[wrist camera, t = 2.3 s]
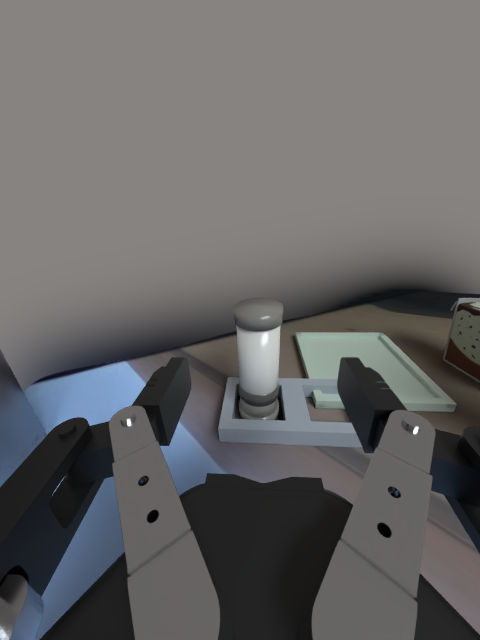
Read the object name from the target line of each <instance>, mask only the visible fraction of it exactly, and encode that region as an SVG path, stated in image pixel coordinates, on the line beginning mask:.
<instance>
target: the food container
mask: <svg viewBox="0 0 480 640" xmlns="http://www.w3.org/2000/svg"><path fill="white" fill-rule="evenodd" d="M451 310H455V312H454V316H453V320H452V324H451V328H450V332H449V336H448V340H447V344H446V348H445V352H444V356H443V360H444V361H445V362H447V363H448V364H450V365H452V366H453V367H455V368H456V369H458V370H460V371H461V372H463V373H464V374H466V375H467V376H469V377H471V378H472V379H474V380H475V381H477V382H479V383H480V298H459V299H458V301H457V302H455V303H454V305H453V307H452V308H451Z"/></svg>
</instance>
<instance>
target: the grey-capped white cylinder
mask: <svg viewBox="0 0 480 640" xmlns="http://www.w3.org/2000/svg"><path fill="white" fill-rule="evenodd" d="M234 321H235V324H236V325H237V342H238V363H239V393H240V400H239V416H240V419H249V420H278V416H279V402H278V400H277V399H278V385H279V382H278V373H279V346H280V325H281V324H282V321H283V305H282V304H281V303H280V302H278V301H275V300H271V299H264V298H255V299H247V300H243V301H240V302H238V303H236V304H235V305H234Z"/></svg>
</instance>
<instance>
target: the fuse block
mask: <svg viewBox="0 0 480 640" xmlns="http://www.w3.org/2000/svg"><path fill="white" fill-rule="evenodd" d="M337 380H338V379H300V378H278V382H279V385H278V397H281V403H282V412H283V420H284V421H281V420H249V419H235V410H236V402H237V396H240V393H239V377H228V380H227V385H226V391H225V396H224V401H223V406H222V412H221V417H220V422H219V427H218V430H219V440H220V442H237V443H262V444H287V445H311V446H336V447H361V448H363V447H362V445H361V443H360V441H359V438H358V436H357V434H356V432H355V430H354V427H353V425H352V423H343V422H312V421H310V417H309V412H308V408H307V404H306V400H305V397H312V395H313V390H321V392H322V394H338V390H337Z"/></svg>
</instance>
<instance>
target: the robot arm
mask: <svg viewBox="0 0 480 640" xmlns="http://www.w3.org/2000/svg"><path fill="white" fill-rule="evenodd" d="M190 390H191V378H190V372H189V366H188V360H187V358H186V357H172V358H171V359H170V361H169V362H168V364H167V366H166V367H161V368H159V369H158V370H157V371H155V372H154V373H153V375H152V376H151V378H150V380H149V381H148V382H147V384H146V386H145V387H144V388H143V390H142V391H141V393H140V394H139V396H138V397H137V399H136V400H135V402H134V403H133V405H132V406H129V407H126V408H124V409H122V410H120V411H118V412H117V413H116V414H115V415H114V416H113V417H112V418H111V420H110V421H109V422H105V423H101V424H96V425H92V426H89V424H88V421H87V420H86V419H85V418H73V419H69V420H67V421H65V422H63V423H61V424H59V425H58V426H56V427H55V428H54V429H53V430H52V431H51V432H50V433H49V434H48V435H47V436H46V435H45V433H44V431H43V429H42V427H41V425H40V423H39V421H38V419H37V417H36V415H35V414H34V412H33V410H32V407H31V405H30V404H29V402H28V400H27V398H26V396H25V394H24V392H23V391H22V389H21V387H20V385H19V383H18V381H17V379H16V378H15V376H14V374H13V372H12V370H11V368H10V366H9V365H8V363H7V361H6V359H5V357H4V355H3V353H2V352H1V350H0V640H36V633H37V630H38V628H39V625H40V623H41V620H42V616H43V608H44V605H43V600H42V598H41V596H42V595H43V593H44V591H45V589H46V587H47V585H48V583H49V581H50V580H51V578H52V576H53V574H54V572H55V570H56V568H57V566H58V565H59V563H60V561H61V559H62V557H63V555H64V553H65V551H66V550H67V548H68V546H69V544H70V542H71V540H72V538H73V536H74V535H75V533H76V531H77V529H78V527H79V525H80V523H81V521H82V520H83V518H84V516H85V514H86V512H87V510H88V508H89V506H90V505H91V503H92V501H93V499H94V497H95V495H96V493H97V491H98V490H99V488H100V486H101V484H102V482H103V480H104V479H105V478H108V477H112V476H114V480H115V487H116V494H117V501H118V507H119V514H120V521H121V528H122V534H123V541H124V548H125V552H124V553H123V554H122V555H121V556H120V557H119V558H118V559H117V560H116V561H115V562H114V563H113V564H112V565H111V566H110V567H109V568H108V569H107V570H106V571H105V572H104V573H103V575H102V576H101V577H100V578H99V579H98V580H97V581H96V582H95V583H94V584H93V585H92V586H91V587H90V588H89V589H88V590H87V591H86V592H85V593H84V594H83V595H82V596H81V597H80V598H79V599H78V600H77V601H76V602H75V603H74V604H73V606H72V607H71V608H70V609H69V610H68V611H67V612H66V613H65V614H64V615H63V616H62V617H61V618H60V619H59V620H58V621H57V622H56V623H55V624H54V625H53V626H52V627H51V628H50V629H49V630H48V631H47V632H46V633H45V635H44V636H43V637H42V638H41V639H40V640H480V635H479V634H478V633H477V632H476V631H475V630H474V629H473V628H472V626H471V625H470V624H469V623H468V622H467V621H466V620H465V619H464V618H463V617H462V616H461V615H460V614H459V613H458V612H457V611H456V610H455V609H454V608H453V607H452V606H451V605H450V604H449V603H448V602H447V601H446V600H445V599H444V598H443V597H442V595H441V594H440V593H439V592H438V591H437V590H436V589H435V588H434V587H433V586H432V585H431V584H430V583H429V582H428V581H427V580H426V579H425V578H424V577H423V576H422V575H421V574H420V567H421V559H422V552H423V545H424V537H425V530H426V522H427V515H428V508H429V500H430V493H431V491H434V492H437V493H440V494H443V495H444V496H445V497H446V499H447V501H448V502H449V504H450V506H451V507H452V509H453V510H454V512H455V514H456V515H457V517H458V519H459V520H460V522H461V524H462V525H463V527H464V529H465V530H466V532H467V534H468V535H469V537H470V538H471V540H472V542H473V543H474V545H475V547H476V548H477V550H478V552H479V553H480V427H468V428H466V429H465V430H464V431H463V434H462V436H460V435H456V434H452V433H448V432H444V431H440V430H437V429H434V427H433V426H432V424H431V423H430V422H429V421H427V420H426V419H425V418H423V417H422V416H420V415H418V414H416V413H413V412H411V411H408V410H407V409H406V408H405V406H404V405H403V404H402V402H401V401H400V400H399V398H398V397H397V396H396V395H395V393H394V392H393V391H392V389H390V387H389V385H388V384H387V383H385V380H384V379H383V378H382V376H381V375H380V374H379V373H378V372H376V371H375V370H373V369H372V368H370V367H365V366H364V365H363V363H362V362H361V360H360V359H359V358H358V357H342V358H341V360H340V366H339V373H338V380H337V390H338V394H339V396H340V398H341V401H342V403H343V405H344V407H345V410H346V412H347V414H348V416H349V418H350V421H351V423H352V425H353V427H354V430H355V432H356V434H357V436H358V438H359V441H360V443H361V445H362V447H363V450H364V452H365V453H374V454H373V456H372V459H371V461H370V464H369V466H368V469H367V472H366V474H365V477H364V479H363V482H362V485H361V487H360V490H359V492H358V495H357V497H356V500H355V503H354V505H352V504H351V503H350V502H348V501H347V500H346V499H344V498H343V497H341V496H339V495H338V494H336V493H334V492H331V491H329V490H326V489H324V488H323V484H322V479H321V478H306V477H290V478H286V479H281V480H277V481H273V482H268V483H259V482H256V481H253V480H250V479H247V478H244V477H240V476H237V475H234V474H210V473H207V476H206V481H205V483H204V484H201V485H198V486H195V487H193V488H191V489H189V490H187V491H186V492H184V493H183V494H181V495H180V496H178V493H177V490H176V488H175V485H174V482H173V480H172V477H171V474H170V472H169V469H168V467H167V464H166V461H165V459H164V456H163V453H162V451H161V448H160V446H169V444H170V442H171V439H172V437H173V434H174V432H175V429H176V427H177V424H178V422H179V419H180V416H181V414H182V411H183V409H184V406H185V404H186V401H187V399H188V396H189V394H190ZM64 476H65V478H64V479H63V477H64ZM62 479H63V481H62V482H61V480H62ZM60 482H61V484H60V485H59V483H60ZM58 485H59V487H58V488H57V486H58ZM56 488H57V490H56V491H55V492H54V490H55V489H56ZM53 492H54V494H53ZM52 494H53V495H52ZM51 496H52V497H51Z"/></svg>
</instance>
